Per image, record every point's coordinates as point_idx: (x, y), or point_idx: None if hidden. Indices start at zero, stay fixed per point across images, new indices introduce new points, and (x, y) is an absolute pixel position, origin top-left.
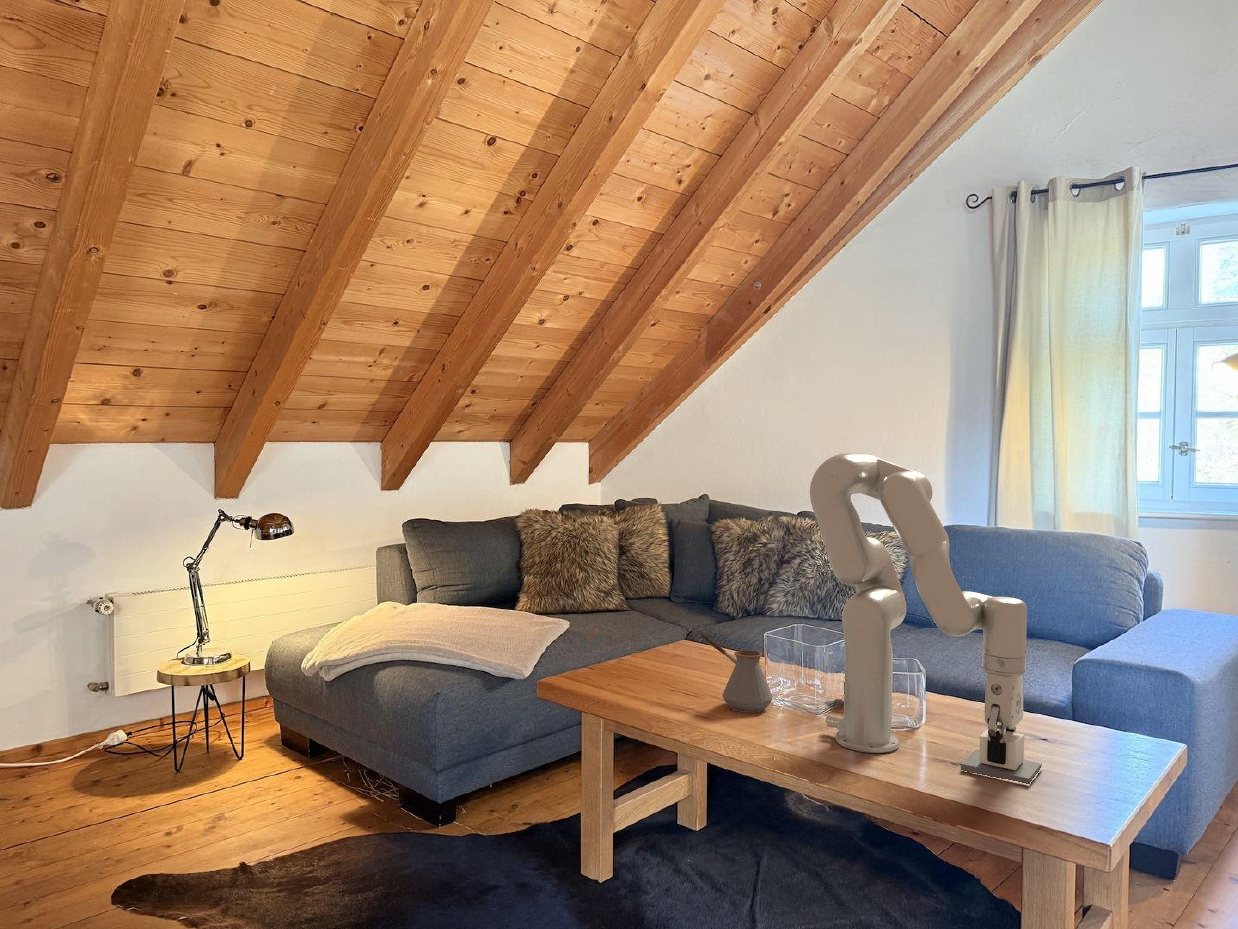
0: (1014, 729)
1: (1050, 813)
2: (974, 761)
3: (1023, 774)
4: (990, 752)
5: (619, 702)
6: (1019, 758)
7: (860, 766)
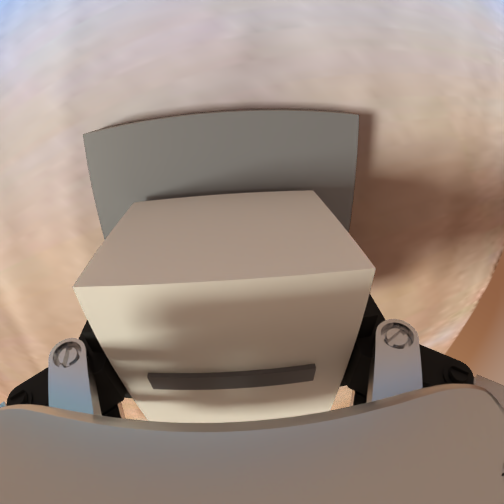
0: (74, 358)
1: (493, 53)
2: None
3: (317, 147)
4: None
5: None
6: (224, 208)
7: None
